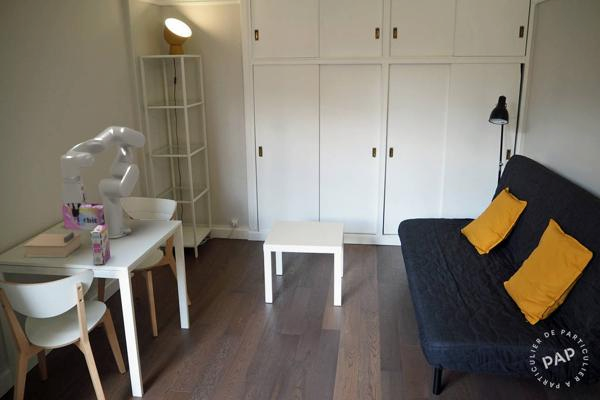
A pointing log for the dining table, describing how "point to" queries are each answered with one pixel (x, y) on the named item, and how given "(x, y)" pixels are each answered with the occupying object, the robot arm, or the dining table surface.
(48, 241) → the lid
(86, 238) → the dining table surface
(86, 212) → the gum box
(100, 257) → the candy bar box
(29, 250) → the lidded box
